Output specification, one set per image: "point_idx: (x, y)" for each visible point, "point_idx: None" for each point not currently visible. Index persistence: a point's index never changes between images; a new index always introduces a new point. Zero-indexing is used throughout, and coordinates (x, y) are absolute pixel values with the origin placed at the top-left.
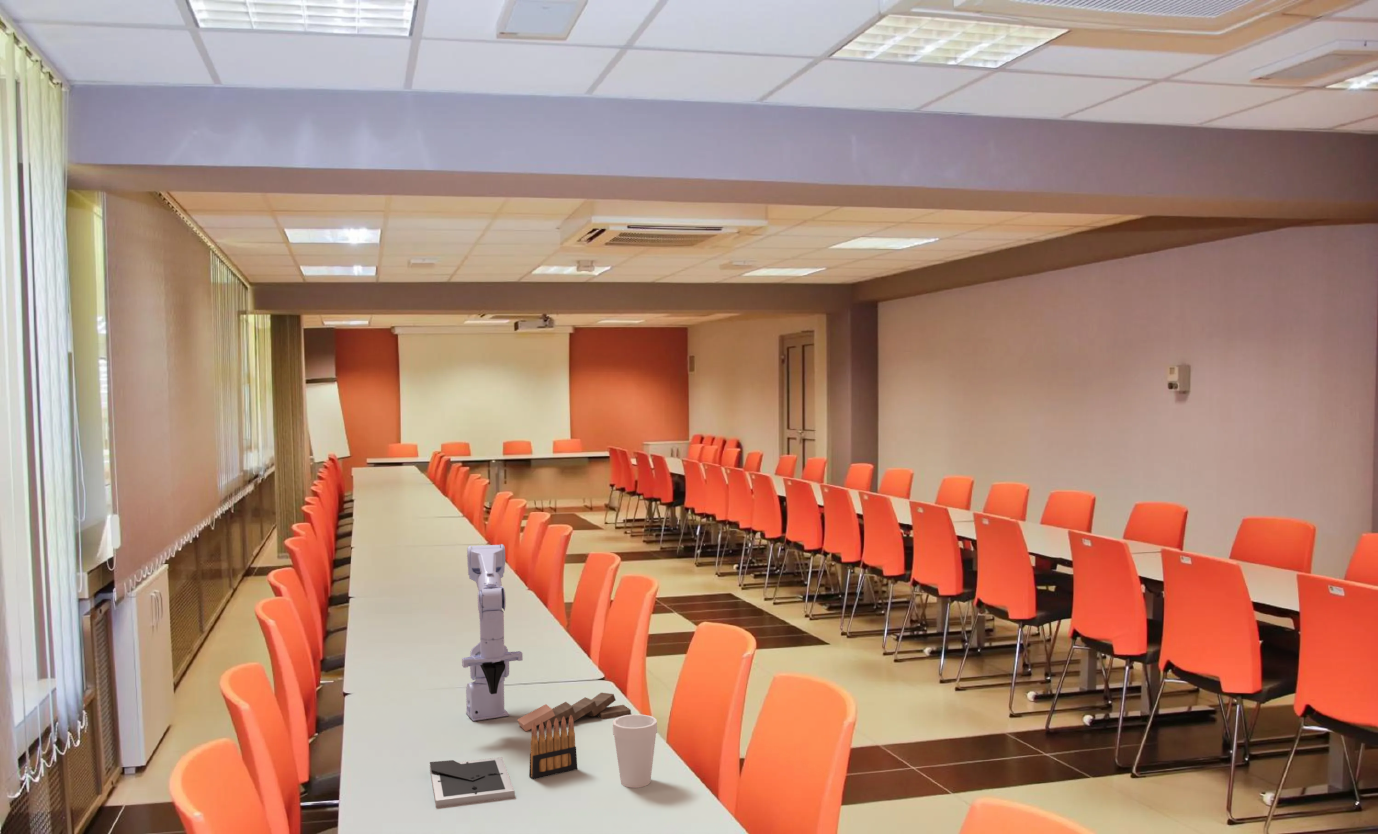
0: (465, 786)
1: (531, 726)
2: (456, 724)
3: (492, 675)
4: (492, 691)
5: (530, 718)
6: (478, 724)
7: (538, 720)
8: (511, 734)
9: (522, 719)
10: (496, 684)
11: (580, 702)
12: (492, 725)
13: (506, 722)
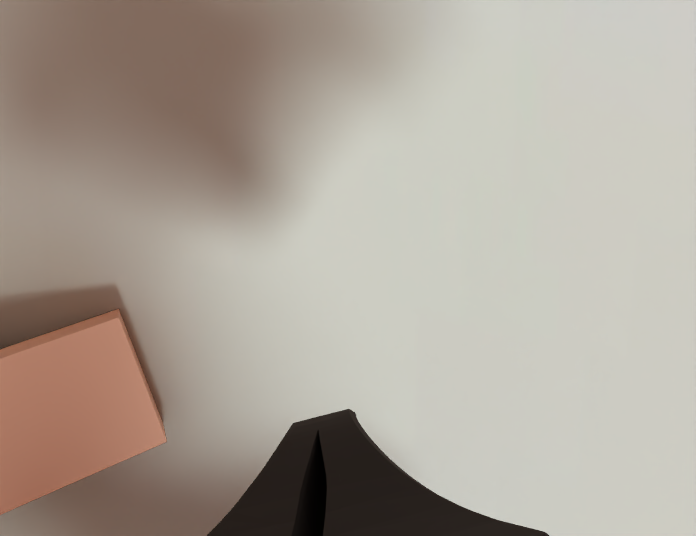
0: None
1: (71, 327)
2: (532, 510)
3: (354, 524)
4: (340, 418)
5: (61, 385)
6: None
7: (4, 353)
8: (211, 269)
9: (127, 412)
10: (285, 466)
11: None
12: None
13: None
